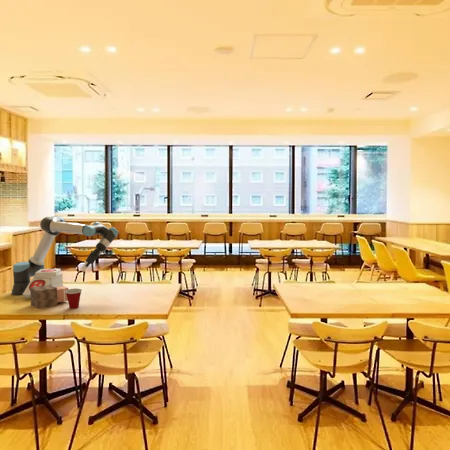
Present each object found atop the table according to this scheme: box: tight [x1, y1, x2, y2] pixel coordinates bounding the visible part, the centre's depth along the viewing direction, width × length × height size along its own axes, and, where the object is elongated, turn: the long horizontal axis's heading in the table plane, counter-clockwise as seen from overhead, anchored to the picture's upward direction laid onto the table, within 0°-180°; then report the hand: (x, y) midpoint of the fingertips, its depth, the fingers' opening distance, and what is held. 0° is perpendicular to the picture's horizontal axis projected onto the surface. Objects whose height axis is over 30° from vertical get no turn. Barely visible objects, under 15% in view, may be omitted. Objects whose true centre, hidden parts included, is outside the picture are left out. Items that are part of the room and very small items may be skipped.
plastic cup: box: [65, 288, 83, 310], centre depth 297 cm, size 11×11×12 cm
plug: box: [56, 285, 69, 304], centre depth 310 cm, size 12×9×9 cm
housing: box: [30, 285, 58, 310], centre depth 304 cm, size 13×14×12 cm
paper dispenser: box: [22, 268, 64, 299], centre depth 332 cm, size 19×30×18 cm, turn 167°
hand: (82, 269), depth 322 cm, fingers closed
